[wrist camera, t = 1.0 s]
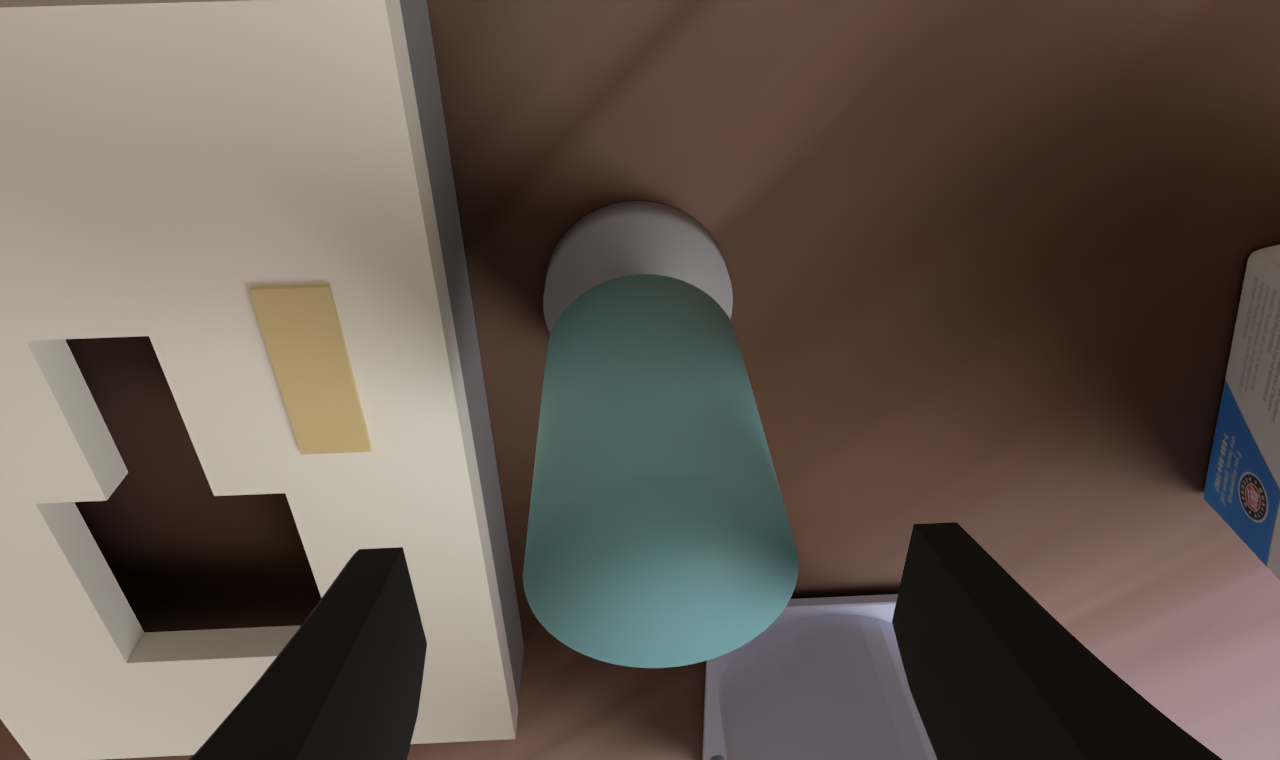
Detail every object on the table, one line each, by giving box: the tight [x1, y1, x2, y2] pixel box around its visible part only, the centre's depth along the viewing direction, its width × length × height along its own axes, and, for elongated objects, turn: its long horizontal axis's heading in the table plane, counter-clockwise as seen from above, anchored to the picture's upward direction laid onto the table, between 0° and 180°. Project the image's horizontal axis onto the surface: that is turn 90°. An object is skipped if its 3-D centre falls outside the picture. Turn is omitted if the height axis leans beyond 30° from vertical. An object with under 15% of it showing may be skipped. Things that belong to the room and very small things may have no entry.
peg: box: [523, 201, 799, 668], centre depth 16 cm, size 4×4×9 cm
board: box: [0, 0, 524, 760], centre depth 20 cm, size 20×14×4 cm
